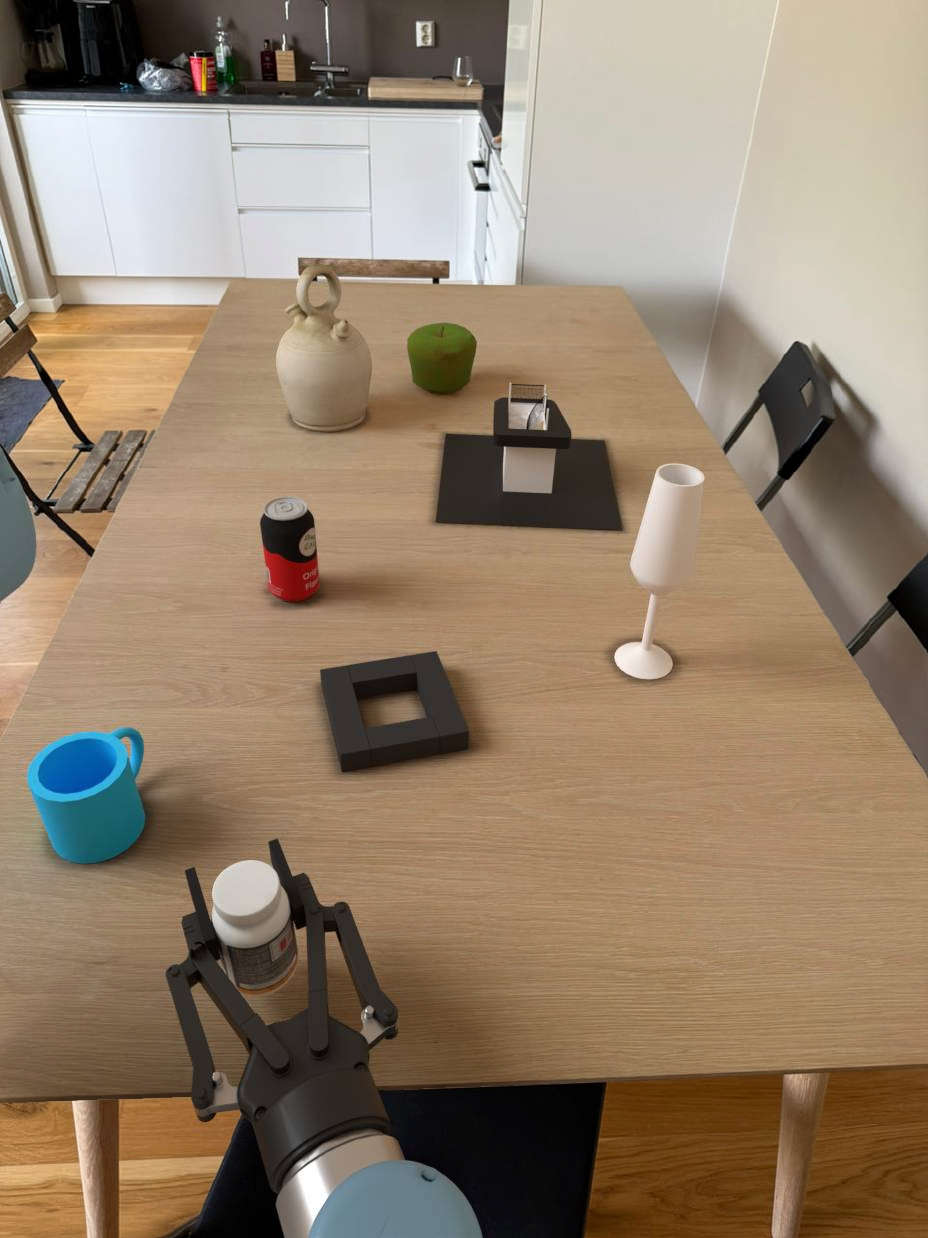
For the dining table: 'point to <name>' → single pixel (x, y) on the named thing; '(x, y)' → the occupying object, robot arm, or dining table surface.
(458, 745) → the dock pad
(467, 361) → the apple
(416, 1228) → the robot arm
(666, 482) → the champagne flute
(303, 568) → the beverage can
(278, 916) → the pill bottle
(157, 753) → the dining table surface
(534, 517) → the black-topped pedestal
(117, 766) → the mug
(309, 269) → the jug
